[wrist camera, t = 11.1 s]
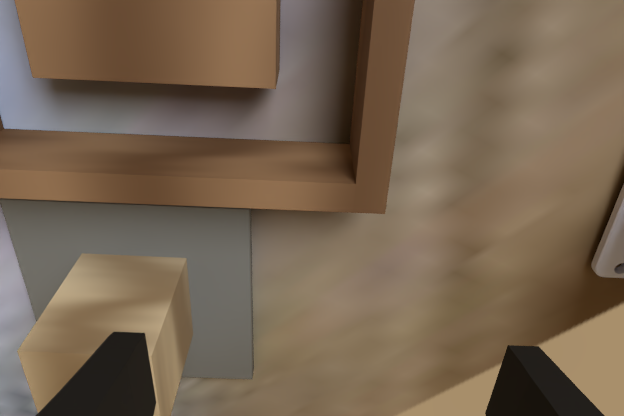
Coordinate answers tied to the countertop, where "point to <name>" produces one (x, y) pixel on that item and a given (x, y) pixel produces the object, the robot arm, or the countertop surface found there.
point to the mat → (157, 243)
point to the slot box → (210, 72)
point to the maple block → (112, 322)
